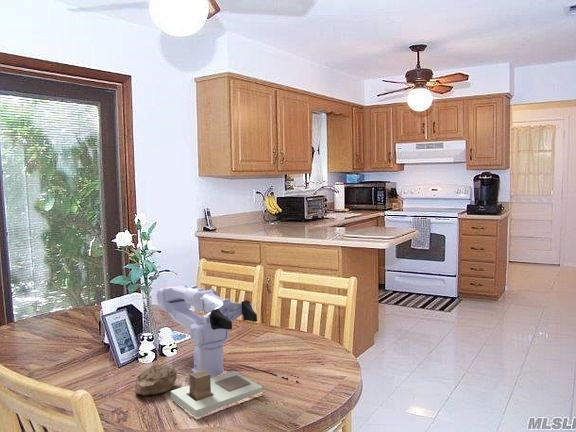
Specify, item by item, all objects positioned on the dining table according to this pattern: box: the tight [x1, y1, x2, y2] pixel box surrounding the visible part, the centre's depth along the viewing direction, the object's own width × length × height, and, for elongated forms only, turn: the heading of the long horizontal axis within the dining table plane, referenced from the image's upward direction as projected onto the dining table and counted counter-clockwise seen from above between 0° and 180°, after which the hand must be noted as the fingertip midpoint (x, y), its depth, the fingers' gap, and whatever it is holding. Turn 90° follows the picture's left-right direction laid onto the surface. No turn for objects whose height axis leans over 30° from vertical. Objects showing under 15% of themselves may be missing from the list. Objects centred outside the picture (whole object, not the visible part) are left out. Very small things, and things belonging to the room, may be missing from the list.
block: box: [188, 370, 211, 401], centre depth 125 cm, size 4×4×8 cm
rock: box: [134, 363, 178, 396], centre depth 134 cm, size 13×11×5 cm
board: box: [170, 370, 264, 417], centre depth 128 cm, size 14×20×3 cm
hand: (243, 321), depth 127 cm, fingers open, 7 cm apart
